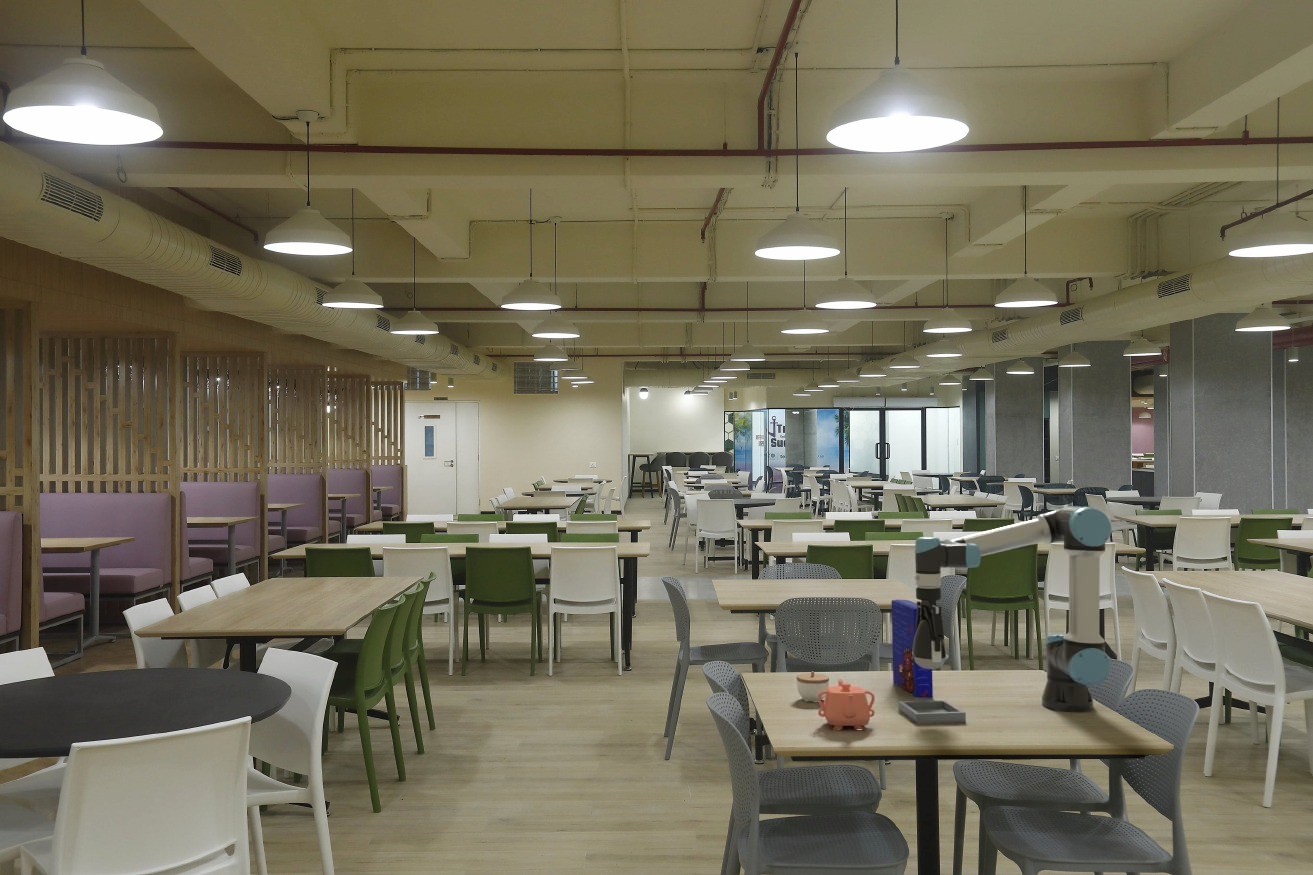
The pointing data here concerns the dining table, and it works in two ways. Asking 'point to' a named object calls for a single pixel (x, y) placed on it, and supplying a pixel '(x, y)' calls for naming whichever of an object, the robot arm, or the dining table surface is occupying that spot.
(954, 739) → the dining table surface
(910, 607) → the cereal box
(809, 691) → the lidded jar
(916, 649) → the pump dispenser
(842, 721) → the teapot
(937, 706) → the tray
